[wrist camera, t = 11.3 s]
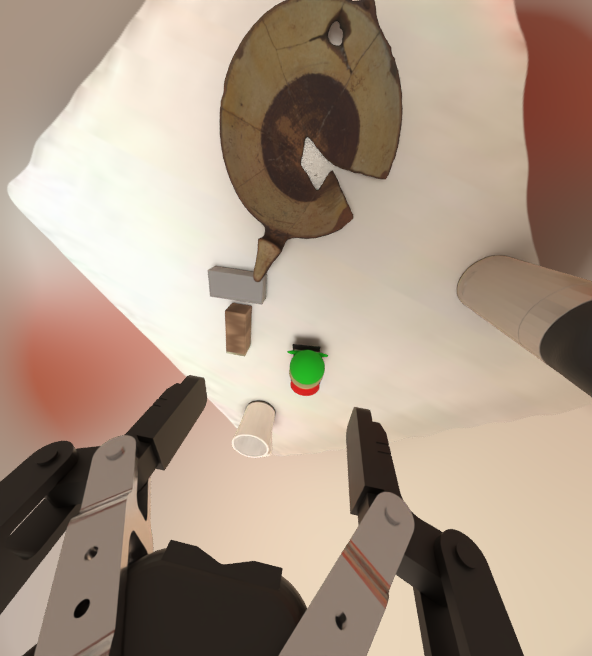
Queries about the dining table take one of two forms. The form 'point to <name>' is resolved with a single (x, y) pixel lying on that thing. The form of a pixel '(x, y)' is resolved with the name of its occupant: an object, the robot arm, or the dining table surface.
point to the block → (238, 328)
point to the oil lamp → (307, 116)
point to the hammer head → (236, 285)
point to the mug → (255, 430)
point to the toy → (306, 369)
